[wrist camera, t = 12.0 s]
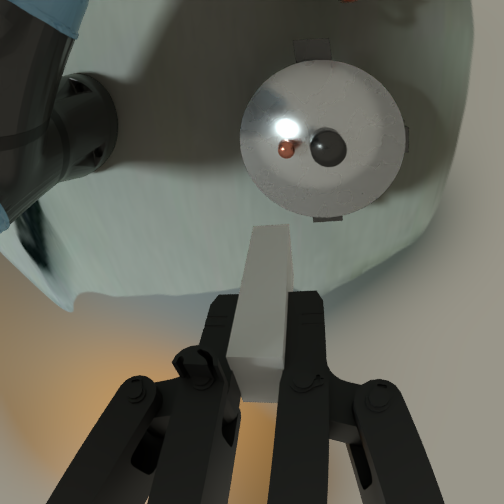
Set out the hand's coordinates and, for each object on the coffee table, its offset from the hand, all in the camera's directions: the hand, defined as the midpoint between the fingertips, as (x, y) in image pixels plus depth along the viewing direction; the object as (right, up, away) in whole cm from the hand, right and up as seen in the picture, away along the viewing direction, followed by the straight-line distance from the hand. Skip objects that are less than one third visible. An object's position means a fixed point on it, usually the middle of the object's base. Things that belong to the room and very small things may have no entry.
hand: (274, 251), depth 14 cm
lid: (+6, +10, +12) cm, 17 cm away
